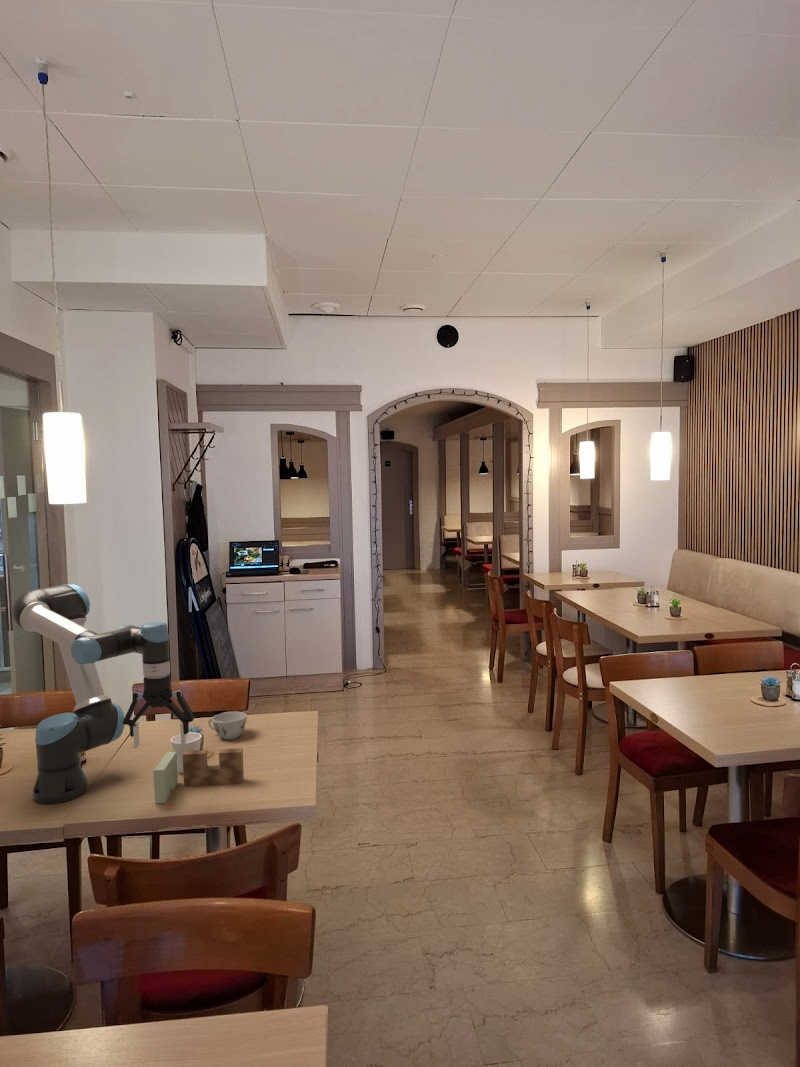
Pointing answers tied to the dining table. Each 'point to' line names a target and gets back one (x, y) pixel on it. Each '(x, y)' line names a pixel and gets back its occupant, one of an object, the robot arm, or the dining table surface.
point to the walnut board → (213, 767)
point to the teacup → (229, 724)
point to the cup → (185, 746)
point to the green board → (165, 777)
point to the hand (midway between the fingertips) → (160, 745)
